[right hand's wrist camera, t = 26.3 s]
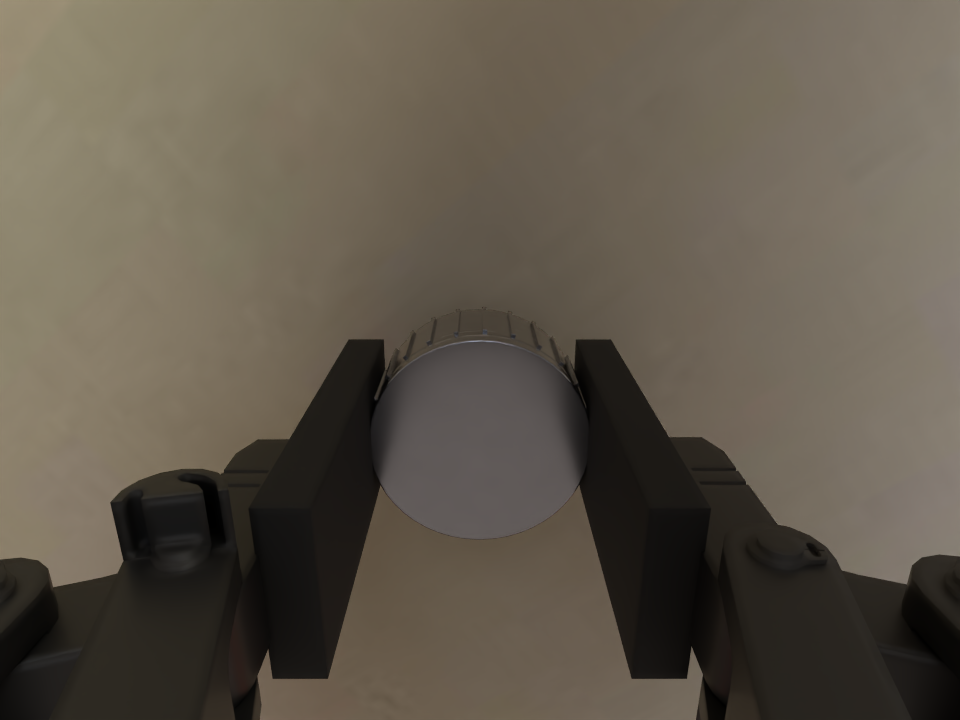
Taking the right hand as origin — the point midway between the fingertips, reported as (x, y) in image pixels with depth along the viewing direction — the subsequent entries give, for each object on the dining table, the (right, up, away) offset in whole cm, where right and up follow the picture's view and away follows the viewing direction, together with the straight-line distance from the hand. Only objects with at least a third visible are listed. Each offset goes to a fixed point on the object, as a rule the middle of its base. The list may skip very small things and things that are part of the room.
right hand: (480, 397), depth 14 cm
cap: (0, -1, -2) cm, 2 cm away
